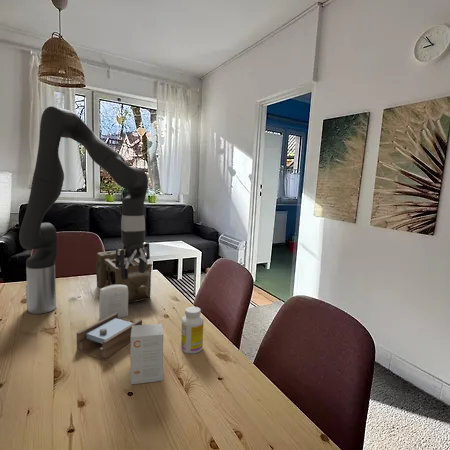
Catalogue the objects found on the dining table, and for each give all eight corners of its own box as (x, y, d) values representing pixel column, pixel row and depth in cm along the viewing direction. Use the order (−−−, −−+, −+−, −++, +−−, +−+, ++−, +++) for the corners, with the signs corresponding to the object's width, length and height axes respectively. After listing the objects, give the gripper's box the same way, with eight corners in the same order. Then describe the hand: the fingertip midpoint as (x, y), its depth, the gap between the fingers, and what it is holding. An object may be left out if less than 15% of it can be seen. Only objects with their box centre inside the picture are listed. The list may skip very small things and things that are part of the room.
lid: (86, 338, 92) (86, 330, 92) (115, 322, 103) (115, 315, 103) (107, 345, 89) (107, 337, 88) (135, 328, 100) (135, 320, 99)
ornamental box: (160, 312, 126) (167, 268, 124) (118, 317, 115) (125, 269, 113) (128, 285, 153) (134, 249, 151) (92, 287, 141) (97, 248, 140)
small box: (161, 366, 85) (162, 322, 83) (162, 381, 79) (163, 334, 77) (131, 369, 83) (131, 324, 81) (130, 385, 77) (130, 336, 75)
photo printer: (126, 312, 118) (126, 281, 116) (129, 316, 115) (129, 285, 113) (98, 317, 112) (97, 285, 111) (100, 322, 109) (100, 289, 107)
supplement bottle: (205, 345, 97) (207, 307, 95) (197, 356, 91) (198, 315, 89) (186, 341, 99) (188, 303, 97) (177, 351, 93) (178, 311, 91)
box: (76, 350, 91) (76, 332, 90) (115, 327, 106) (115, 312, 105) (105, 360, 87) (105, 342, 86) (141, 335, 101) (142, 320, 100)
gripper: (138, 225, 109) (138, 269, 111) (108, 230, 96) (109, 279, 98) (155, 227, 106) (155, 272, 108) (127, 232, 93) (127, 283, 95)
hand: (133, 275), depth 103 cm, fingers open, 8 cm apart
